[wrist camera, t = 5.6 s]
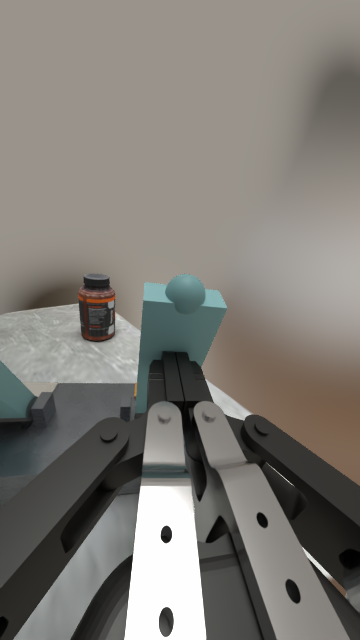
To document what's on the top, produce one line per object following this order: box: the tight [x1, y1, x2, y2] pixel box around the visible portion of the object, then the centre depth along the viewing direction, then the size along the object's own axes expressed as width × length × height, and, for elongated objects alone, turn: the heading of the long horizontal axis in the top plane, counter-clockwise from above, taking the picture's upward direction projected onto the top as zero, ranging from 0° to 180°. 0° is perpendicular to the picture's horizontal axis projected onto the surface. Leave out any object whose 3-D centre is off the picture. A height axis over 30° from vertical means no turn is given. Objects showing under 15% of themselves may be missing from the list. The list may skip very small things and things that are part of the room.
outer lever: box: [135, 274, 227, 417], centre depth 13 cm, size 4×2×14 cm, turn 99°
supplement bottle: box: [78, 274, 115, 341], centre depth 33 cm, size 6×6×11 cm
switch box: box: [0, 382, 187, 508], centre depth 16 cm, size 22×8×6 cm, turn 99°
